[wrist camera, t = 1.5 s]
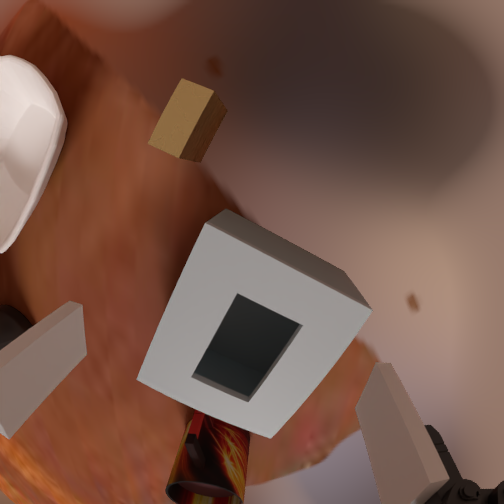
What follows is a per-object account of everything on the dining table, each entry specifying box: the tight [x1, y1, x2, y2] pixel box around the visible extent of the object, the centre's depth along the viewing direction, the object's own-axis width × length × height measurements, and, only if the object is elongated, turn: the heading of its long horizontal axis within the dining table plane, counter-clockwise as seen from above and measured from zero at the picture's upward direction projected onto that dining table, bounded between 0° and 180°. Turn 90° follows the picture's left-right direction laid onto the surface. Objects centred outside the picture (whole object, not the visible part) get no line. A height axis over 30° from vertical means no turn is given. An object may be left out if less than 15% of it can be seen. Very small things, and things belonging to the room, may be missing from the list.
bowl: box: [0, 55, 68, 253], centre depth 26 cm, size 21×21×9 cm
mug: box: [165, 409, 250, 504], centre depth 32 cm, size 10×14×12 cm
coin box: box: [137, 209, 373, 438], centre depth 28 cm, size 14×16×10 cm
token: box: [148, 79, 227, 163], centre depth 25 cm, size 3×6×8 cm, turn 153°
